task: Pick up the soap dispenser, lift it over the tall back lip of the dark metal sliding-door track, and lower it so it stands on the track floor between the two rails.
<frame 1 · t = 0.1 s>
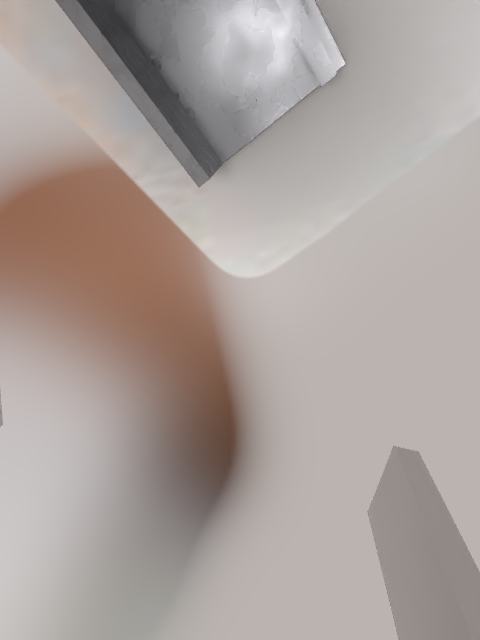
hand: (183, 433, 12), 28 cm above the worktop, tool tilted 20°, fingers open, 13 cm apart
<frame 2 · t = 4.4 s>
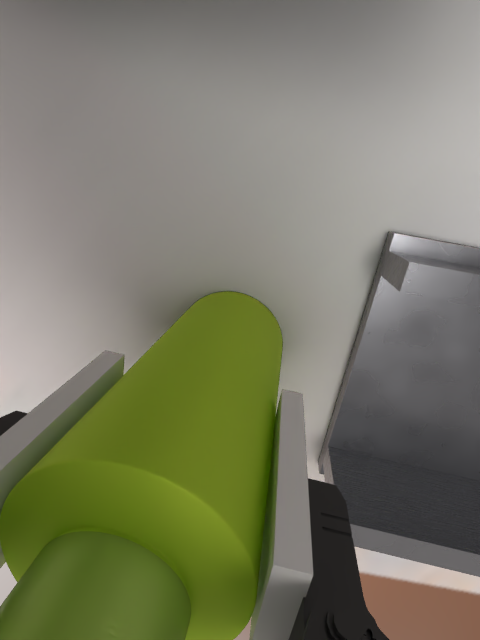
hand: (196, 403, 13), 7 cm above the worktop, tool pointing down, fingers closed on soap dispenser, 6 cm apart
soap dispenser: (224, 333, 20), on the worktop, touching gripper
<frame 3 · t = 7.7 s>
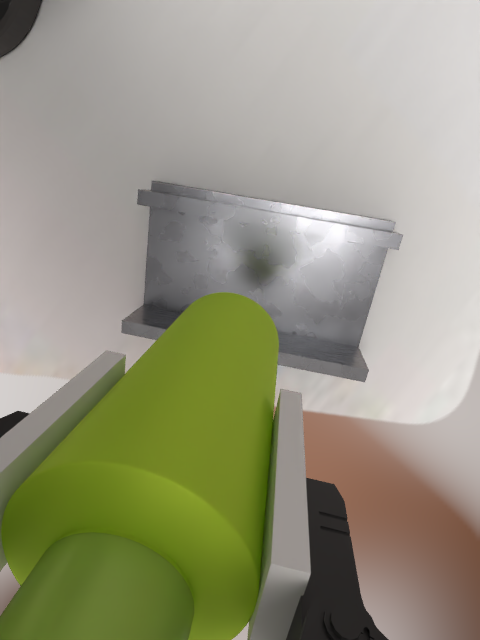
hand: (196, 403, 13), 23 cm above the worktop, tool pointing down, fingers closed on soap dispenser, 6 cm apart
soap dispenser: (221, 334, 20), point 16 cm above the worktop, touching gripper
track: (258, 275, 35), on the worktop
when the fingers open (9 cm above the worktop, at t = 11.0 s): soap dispenser drops 1 cm, resting on track.
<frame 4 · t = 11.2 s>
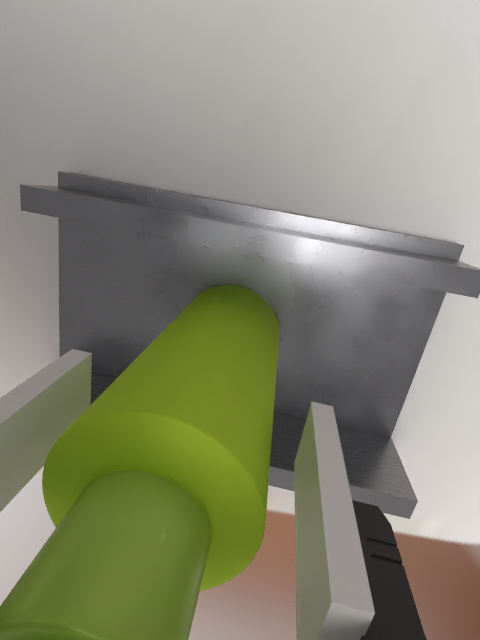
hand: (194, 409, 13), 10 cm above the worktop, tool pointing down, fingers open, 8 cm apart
soap dispenser: (225, 324, 21), point 1 cm above the worktop, touching track
track: (234, 322, 22), on the worktop
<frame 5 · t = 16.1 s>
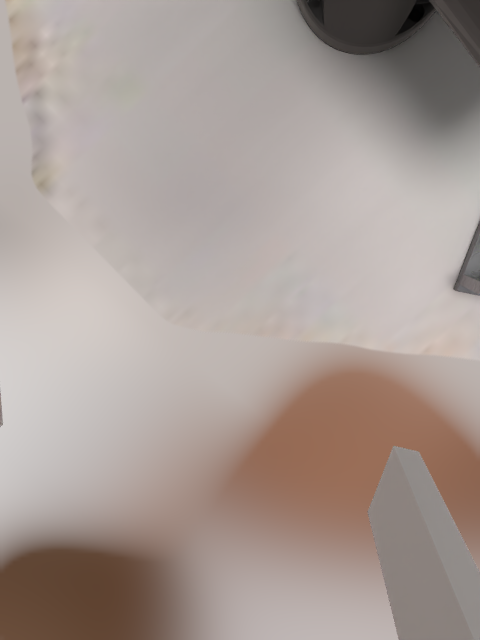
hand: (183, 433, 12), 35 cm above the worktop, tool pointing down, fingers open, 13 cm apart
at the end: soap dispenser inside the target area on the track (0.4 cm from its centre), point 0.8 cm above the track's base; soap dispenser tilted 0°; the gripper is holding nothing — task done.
